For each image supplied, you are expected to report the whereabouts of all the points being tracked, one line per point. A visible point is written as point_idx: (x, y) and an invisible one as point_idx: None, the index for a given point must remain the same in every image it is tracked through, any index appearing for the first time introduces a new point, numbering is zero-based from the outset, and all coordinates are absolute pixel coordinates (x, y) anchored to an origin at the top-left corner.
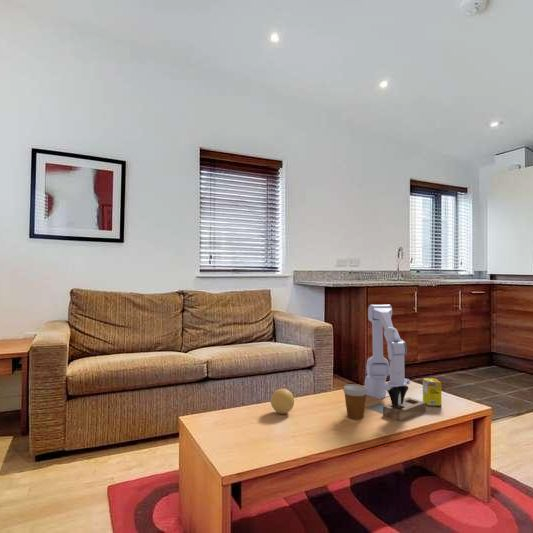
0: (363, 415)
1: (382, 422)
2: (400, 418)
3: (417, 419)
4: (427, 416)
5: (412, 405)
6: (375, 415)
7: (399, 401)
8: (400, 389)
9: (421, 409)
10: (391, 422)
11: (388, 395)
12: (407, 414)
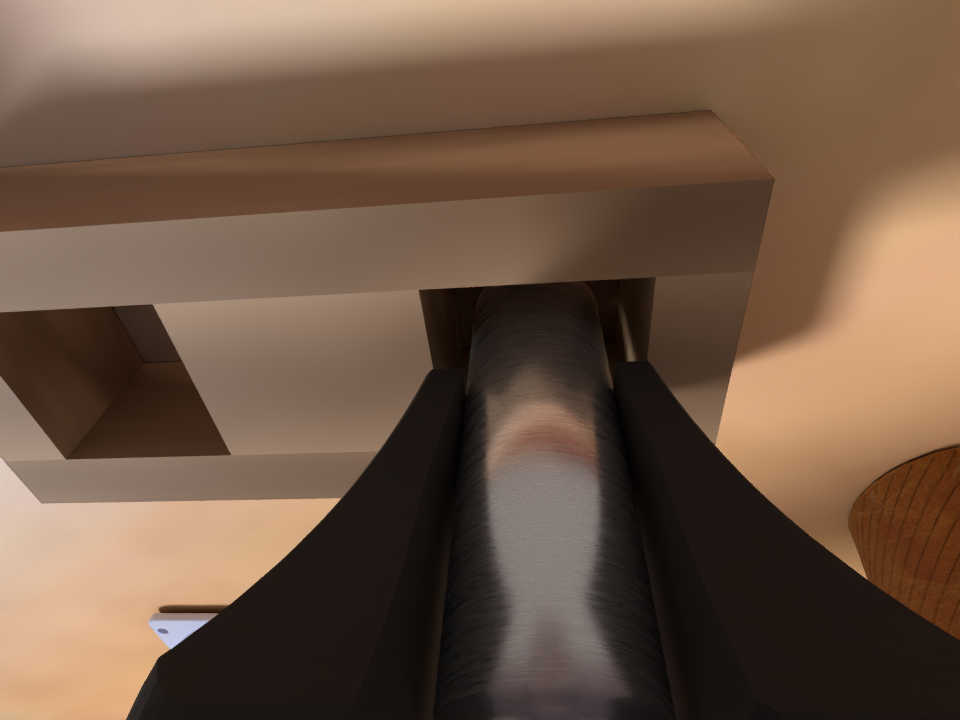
0: (955, 476)
1: (921, 257)
2: (720, 130)
3: (333, 18)
4: (45, 10)
5: (214, 275)
6: (728, 434)
7: (570, 412)
8: (415, 714)
9: (40, 188)
10: (827, 185)
11: (171, 622)
12: (485, 157)
